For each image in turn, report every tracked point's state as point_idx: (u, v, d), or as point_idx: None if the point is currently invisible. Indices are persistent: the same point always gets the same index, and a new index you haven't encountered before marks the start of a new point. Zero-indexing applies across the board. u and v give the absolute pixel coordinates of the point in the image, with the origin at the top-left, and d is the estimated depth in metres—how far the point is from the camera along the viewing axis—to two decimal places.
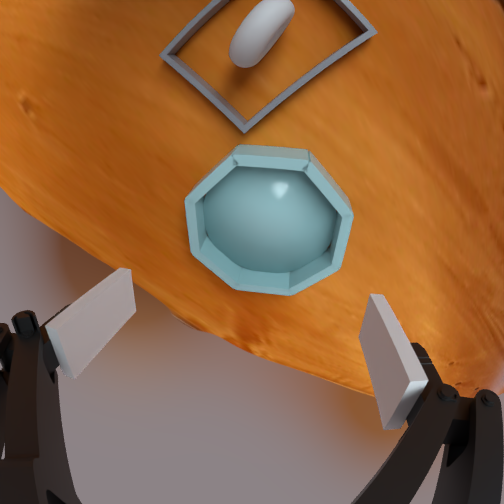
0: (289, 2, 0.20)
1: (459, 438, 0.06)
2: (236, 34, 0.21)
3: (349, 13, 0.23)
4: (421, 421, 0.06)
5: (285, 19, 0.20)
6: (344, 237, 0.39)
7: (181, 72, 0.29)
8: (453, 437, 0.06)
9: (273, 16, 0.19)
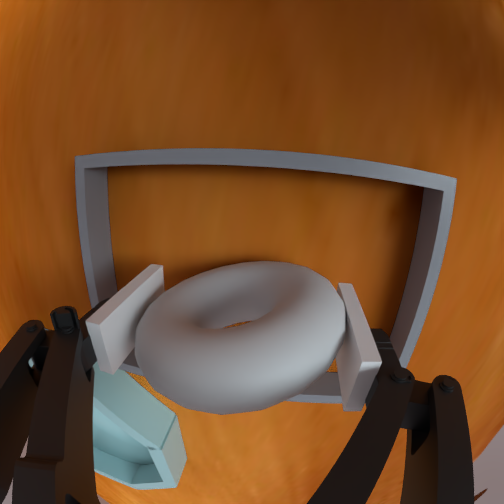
0: (337, 352, 0.11)
1: (418, 423, 0.07)
2: (163, 355, 0.09)
3: None
4: (376, 404, 0.07)
5: None
6: (155, 486, 0.23)
7: (80, 221, 0.15)
8: (412, 422, 0.07)
9: (268, 404, 0.09)
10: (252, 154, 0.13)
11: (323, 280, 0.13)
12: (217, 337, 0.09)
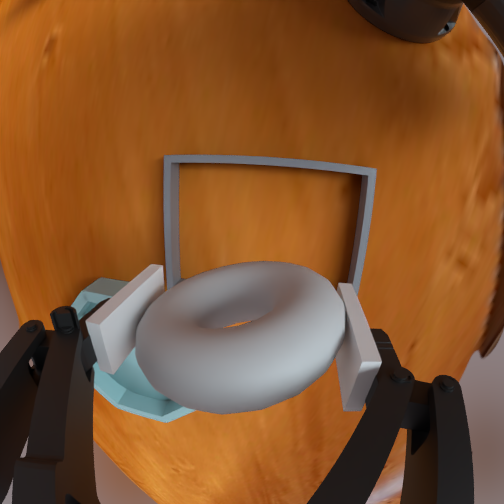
0: None
1: (418, 423, 0.07)
2: (164, 355, 0.09)
3: (351, 274, 0.31)
4: (376, 404, 0.07)
5: None
6: (185, 412, 0.37)
7: (165, 193, 0.29)
8: (411, 422, 0.07)
9: (268, 404, 0.09)
10: (268, 159, 0.27)
11: (323, 280, 0.13)
12: (217, 337, 0.10)
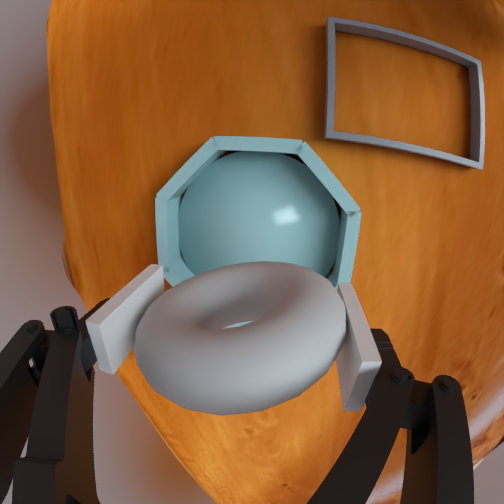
0: None
1: (419, 423, 0.07)
2: (163, 355, 0.09)
3: (474, 140, 0.26)
4: (376, 404, 0.07)
5: None
6: None
7: (330, 44, 0.25)
8: (411, 422, 0.07)
9: (269, 405, 0.09)
10: (413, 36, 0.22)
11: (324, 280, 0.13)
12: (217, 338, 0.09)
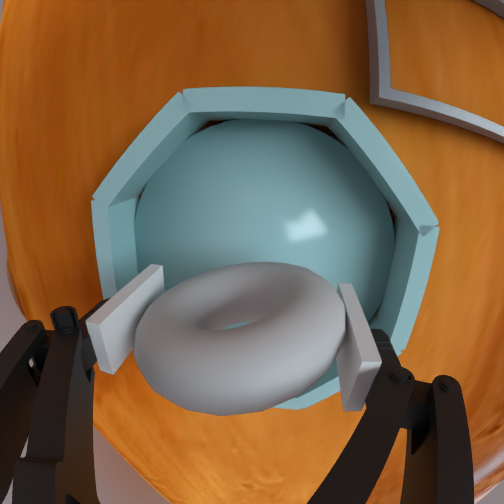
0: (337, 353, 0.11)
1: (419, 423, 0.07)
2: (163, 356, 0.09)
3: None
4: (376, 404, 0.07)
5: None
6: None
7: None
8: (411, 422, 0.07)
9: (268, 405, 0.09)
10: None
11: (323, 281, 0.13)
12: (217, 338, 0.09)
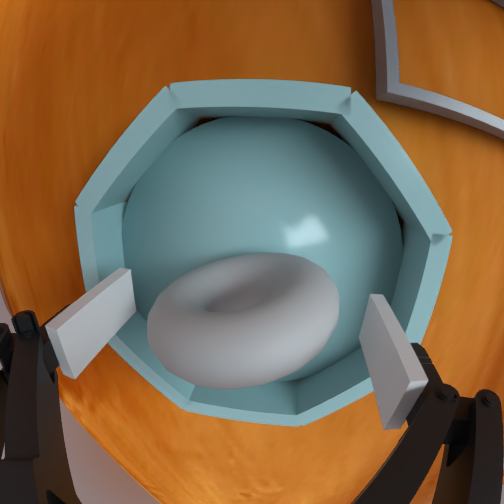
0: (331, 333, 0.12)
1: (460, 438, 0.06)
2: (175, 336, 0.11)
3: None
4: (421, 421, 0.06)
5: None
6: (361, 392, 0.17)
7: None
8: (453, 437, 0.06)
9: (270, 378, 0.10)
10: None
11: (318, 268, 0.14)
12: (224, 318, 0.11)
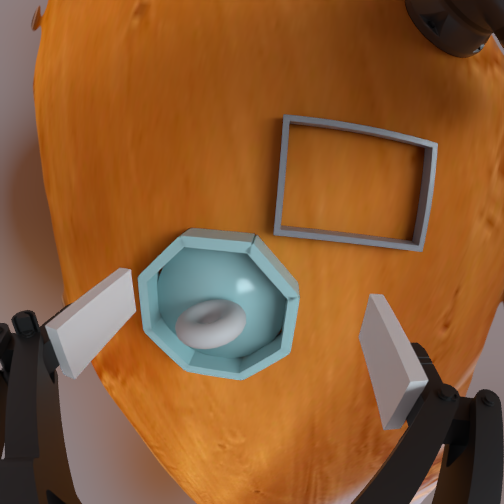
0: (240, 332, 0.36)
1: (459, 438, 0.06)
2: (187, 331, 0.34)
3: (418, 222, 0.36)
4: (421, 421, 0.06)
5: None
6: (267, 363, 0.41)
7: (283, 145, 0.34)
8: (453, 437, 0.06)
9: (216, 345, 0.34)
10: (367, 128, 0.32)
11: (238, 308, 0.38)
12: (203, 325, 0.35)
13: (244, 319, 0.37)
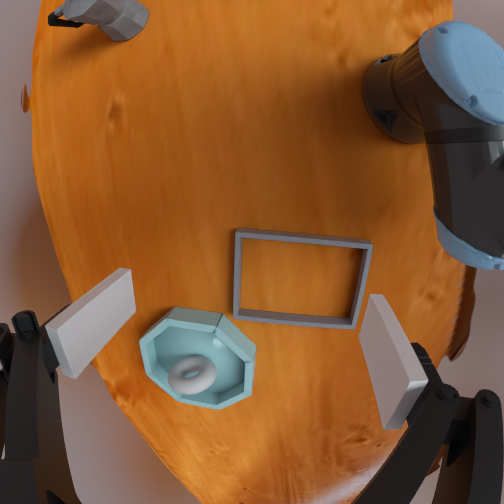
0: (211, 384, 0.48)
1: (460, 438, 0.06)
2: (175, 383, 0.47)
3: (353, 306, 0.47)
4: (421, 421, 0.06)
5: None
6: (236, 400, 0.54)
7: (236, 257, 0.45)
8: (453, 437, 0.06)
9: (194, 393, 0.46)
10: (305, 239, 0.43)
11: (210, 367, 0.50)
12: (185, 380, 0.47)
13: (214, 374, 0.49)
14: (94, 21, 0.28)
